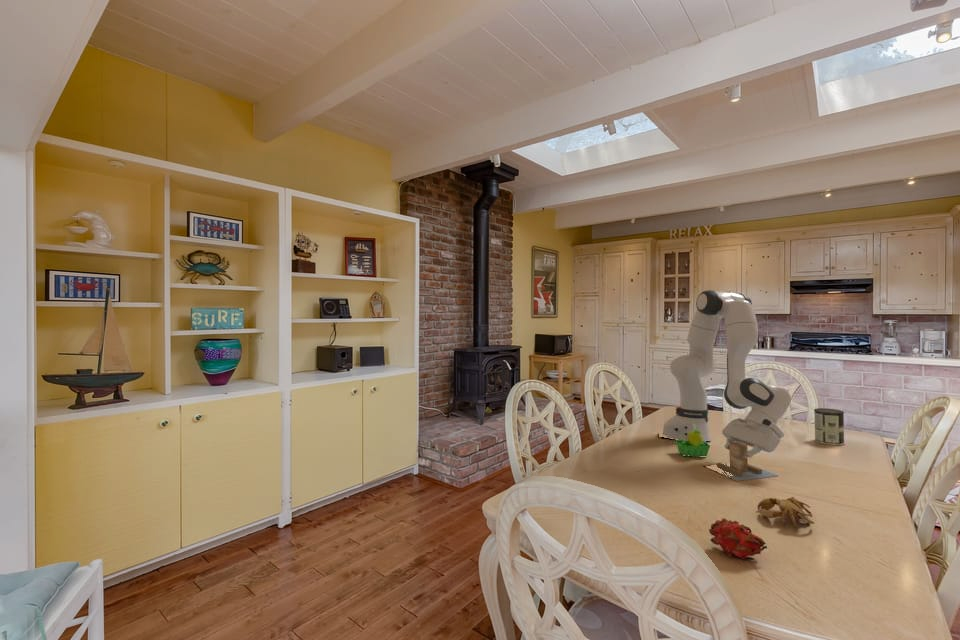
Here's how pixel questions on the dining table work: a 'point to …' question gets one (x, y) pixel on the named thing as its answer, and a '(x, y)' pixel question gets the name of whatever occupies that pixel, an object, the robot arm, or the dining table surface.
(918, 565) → the dining table surface
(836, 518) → the dining table surface
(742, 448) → the card block
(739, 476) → the mat
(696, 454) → the fruit basket
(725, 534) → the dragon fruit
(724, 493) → the dining table surface
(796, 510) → the crab model
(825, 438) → the coffee can
